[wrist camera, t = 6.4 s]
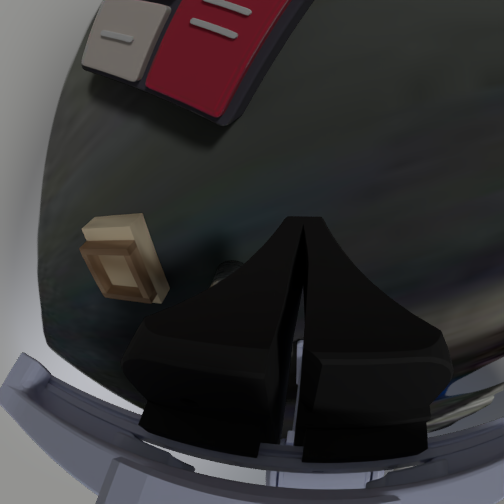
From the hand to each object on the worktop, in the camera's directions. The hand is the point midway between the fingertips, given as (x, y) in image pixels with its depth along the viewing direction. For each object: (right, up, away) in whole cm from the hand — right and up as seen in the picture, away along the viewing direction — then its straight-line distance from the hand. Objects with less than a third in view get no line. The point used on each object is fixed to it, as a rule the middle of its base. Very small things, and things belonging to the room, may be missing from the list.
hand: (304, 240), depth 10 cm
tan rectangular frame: (-13, -1, +13) cm, 18 cm away
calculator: (-4, +15, 0) cm, 16 cm away
